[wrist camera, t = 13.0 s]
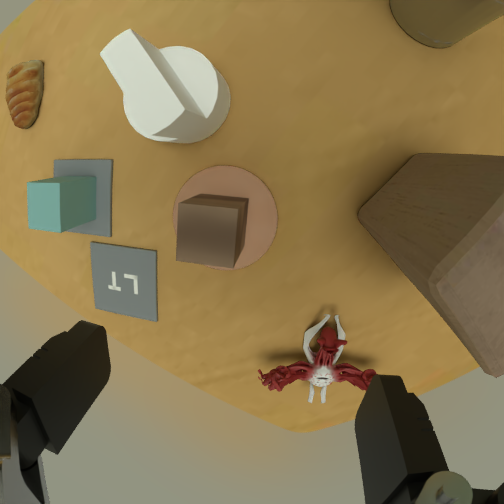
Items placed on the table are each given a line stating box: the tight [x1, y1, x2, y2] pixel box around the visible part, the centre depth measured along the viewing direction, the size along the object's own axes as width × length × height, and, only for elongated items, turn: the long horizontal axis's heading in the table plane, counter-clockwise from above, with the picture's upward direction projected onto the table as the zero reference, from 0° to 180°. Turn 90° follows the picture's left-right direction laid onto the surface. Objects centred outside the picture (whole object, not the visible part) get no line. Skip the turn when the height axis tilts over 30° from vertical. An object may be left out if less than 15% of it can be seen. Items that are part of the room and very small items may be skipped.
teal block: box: [27, 176, 97, 233], centre depth 31 cm, size 5×5×7 cm
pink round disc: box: [173, 166, 278, 270], centre depth 33 cm, size 11×11×1 cm
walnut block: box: [176, 193, 249, 268], centre depth 30 cm, size 5×5×7 cm
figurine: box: [258, 314, 376, 403], centre depth 34 cm, size 15×12×7 cm
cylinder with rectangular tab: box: [100, 29, 231, 143], centre depth 25 cm, size 9×9×12 cm
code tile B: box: [54, 159, 113, 237], centre depth 35 cm, size 9×9×1 cm
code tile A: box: [90, 242, 158, 322], centre depth 37 cm, size 9×9×1 cm
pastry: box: [6, 60, 44, 129], centre depth 30 cm, size 9×7×4 cm
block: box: [358, 153, 504, 378], centre depth 22 cm, size 10×10×20 cm
